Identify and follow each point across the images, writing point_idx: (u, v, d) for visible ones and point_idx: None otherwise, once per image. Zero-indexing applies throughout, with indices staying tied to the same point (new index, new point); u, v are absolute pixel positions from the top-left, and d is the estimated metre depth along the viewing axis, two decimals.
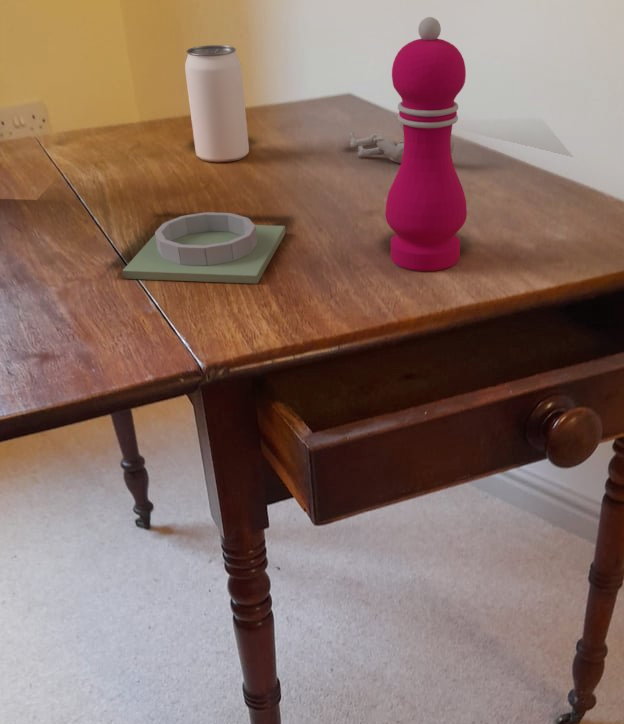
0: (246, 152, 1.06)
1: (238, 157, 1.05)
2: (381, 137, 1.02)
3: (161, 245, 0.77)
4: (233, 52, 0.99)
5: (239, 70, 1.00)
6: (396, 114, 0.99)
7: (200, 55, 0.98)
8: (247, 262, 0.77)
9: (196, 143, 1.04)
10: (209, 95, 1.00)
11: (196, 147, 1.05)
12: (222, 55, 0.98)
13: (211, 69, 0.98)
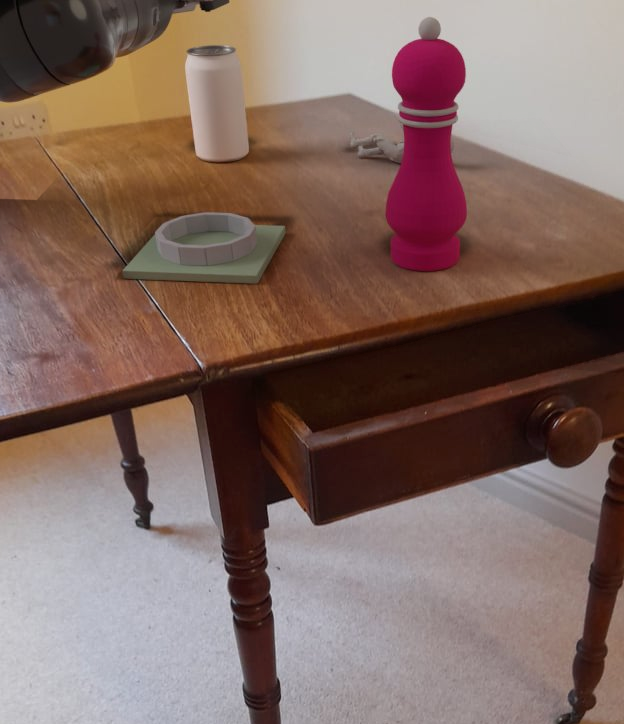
0: (246, 152, 1.06)
1: (238, 157, 1.05)
2: (381, 137, 1.02)
3: (161, 245, 0.77)
4: (233, 52, 0.99)
5: (239, 70, 1.00)
6: (396, 114, 0.99)
7: (200, 55, 0.98)
8: (247, 262, 0.77)
9: (196, 143, 1.04)
10: (209, 95, 1.00)
11: (196, 147, 1.05)
12: (222, 55, 0.98)
13: (211, 69, 0.98)
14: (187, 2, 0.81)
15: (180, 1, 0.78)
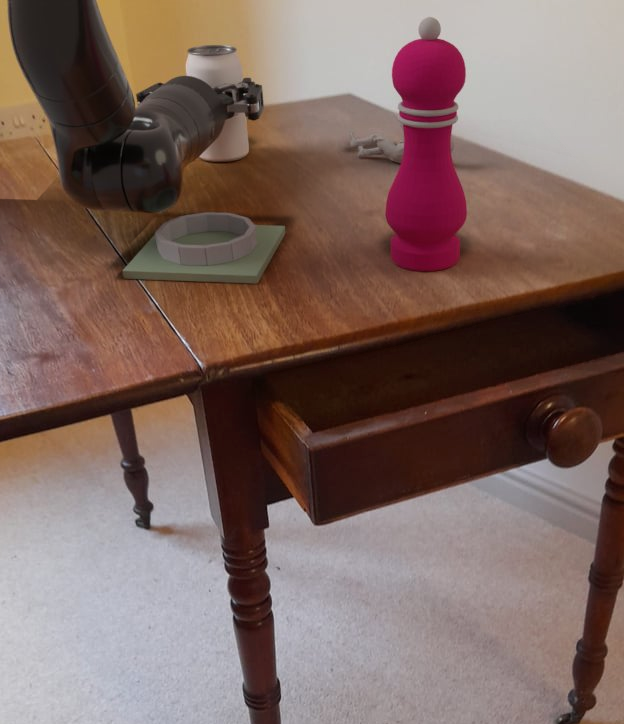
0: (246, 152, 1.06)
1: (238, 157, 1.05)
2: (381, 137, 1.02)
3: (161, 245, 0.77)
4: (234, 52, 0.99)
5: (240, 70, 1.01)
6: (396, 114, 0.99)
7: (201, 54, 0.98)
8: (247, 262, 0.77)
9: None
10: None
11: None
12: (223, 55, 0.98)
13: (211, 69, 0.98)
14: None
15: (230, 113, 0.95)
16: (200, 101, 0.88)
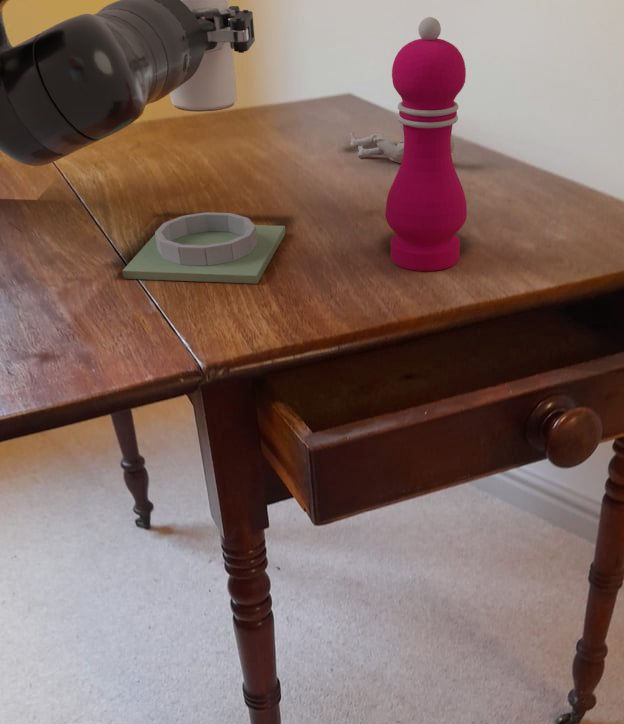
0: (233, 100, 0.85)
1: (223, 105, 0.84)
2: (381, 137, 1.02)
3: (161, 245, 0.77)
4: None
5: None
6: (396, 114, 0.99)
7: None
8: (247, 262, 0.77)
9: None
10: None
11: (171, 92, 0.84)
12: None
13: None
14: None
15: (211, 42, 0.75)
16: (170, 18, 0.68)
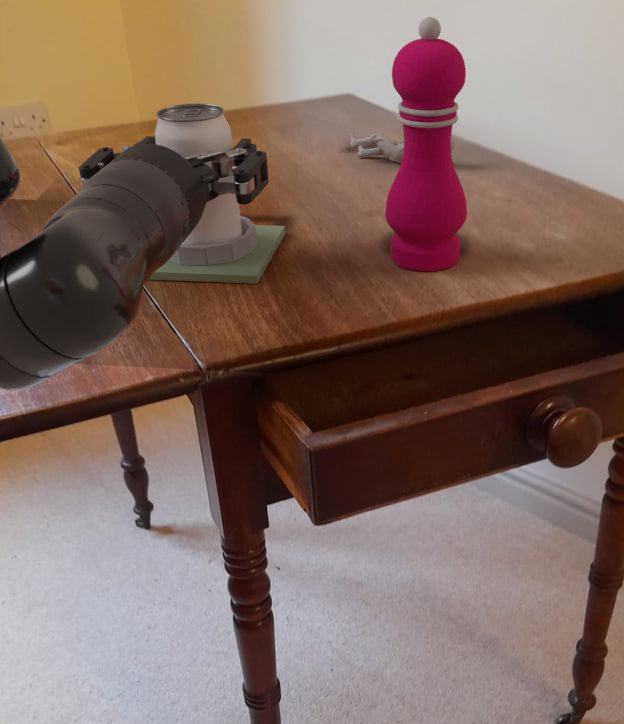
0: None
1: None
2: (381, 137, 1.02)
3: None
4: (220, 115, 0.73)
5: (228, 139, 0.74)
6: (396, 114, 0.99)
7: (174, 120, 0.71)
8: (247, 262, 0.77)
9: None
10: None
11: None
12: (204, 120, 0.72)
13: (189, 140, 0.72)
14: None
15: (213, 193, 0.68)
16: (168, 185, 0.61)
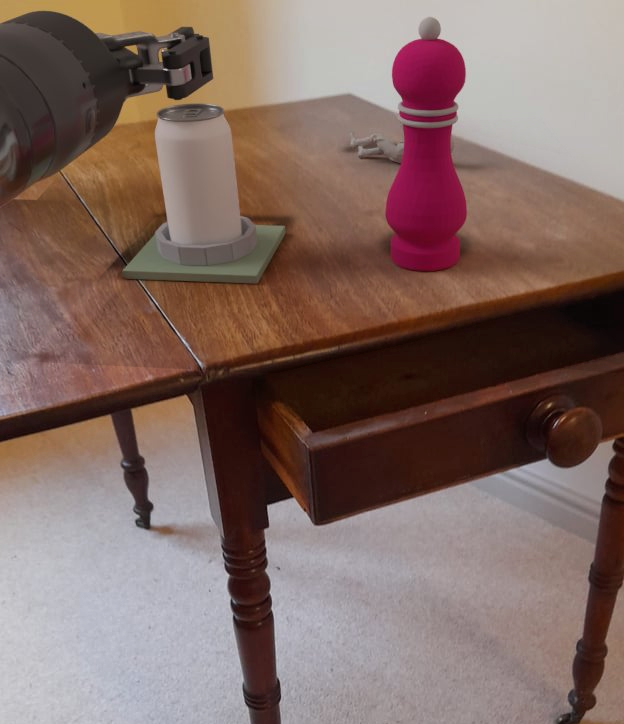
0: None
1: None
2: (381, 137, 1.02)
3: (161, 245, 0.77)
4: (220, 115, 0.73)
5: (228, 139, 0.74)
6: (396, 114, 0.99)
7: (174, 120, 0.71)
8: (247, 262, 0.77)
9: (171, 233, 0.78)
10: (187, 174, 0.73)
11: (171, 238, 0.78)
12: (204, 120, 0.72)
13: (189, 140, 0.72)
14: None
15: (136, 84, 0.52)
16: (62, 57, 0.45)
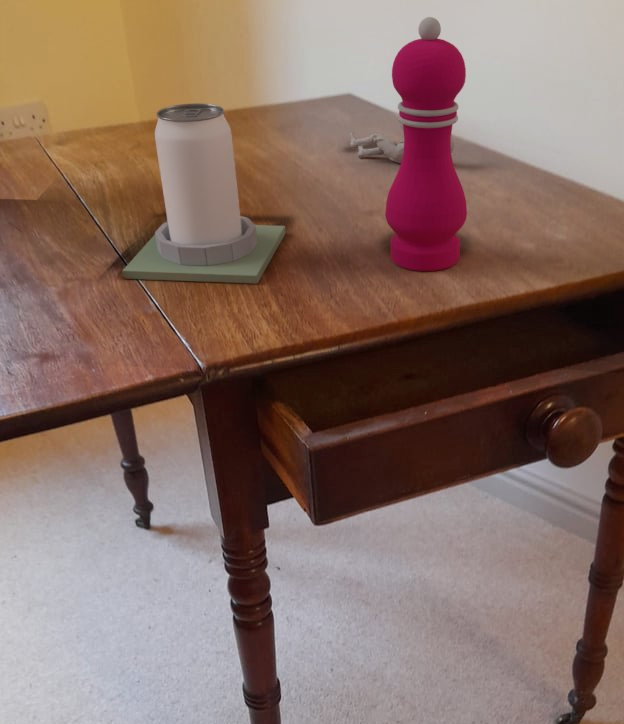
0: None
1: None
2: (381, 137, 1.02)
3: (161, 245, 0.77)
4: (220, 115, 0.73)
5: (228, 139, 0.74)
6: (396, 114, 0.99)
7: (174, 120, 0.71)
8: (247, 262, 0.77)
9: (171, 233, 0.78)
10: (187, 174, 0.73)
11: (171, 238, 0.78)
12: (204, 120, 0.72)
13: (189, 140, 0.72)
14: None
15: None
16: None
